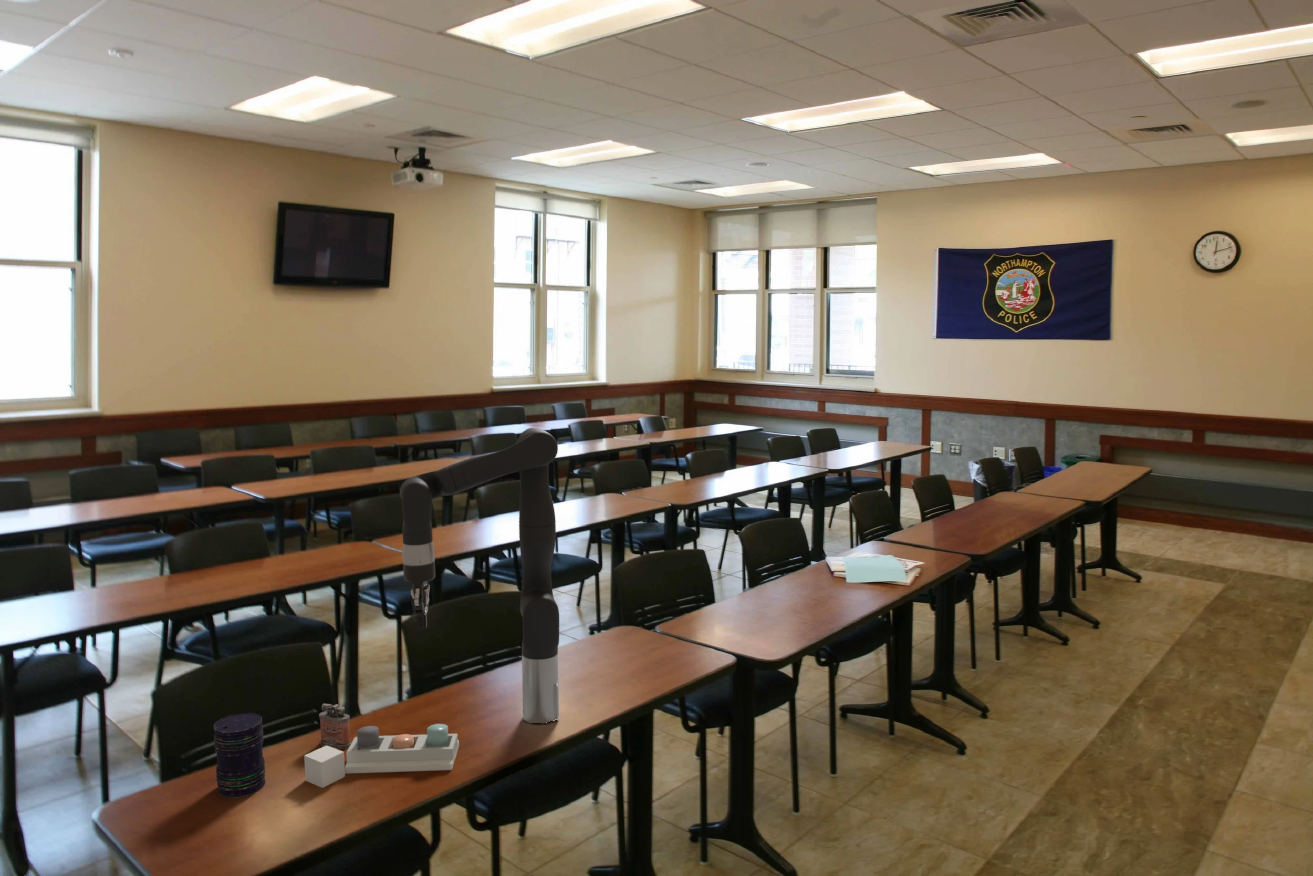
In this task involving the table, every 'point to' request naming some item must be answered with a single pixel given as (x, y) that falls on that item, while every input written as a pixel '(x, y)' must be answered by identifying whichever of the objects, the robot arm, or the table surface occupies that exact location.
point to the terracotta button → (403, 741)
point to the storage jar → (239, 755)
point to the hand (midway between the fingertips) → (422, 628)
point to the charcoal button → (368, 736)
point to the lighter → (334, 727)
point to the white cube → (324, 766)
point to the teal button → (437, 734)
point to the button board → (402, 756)
